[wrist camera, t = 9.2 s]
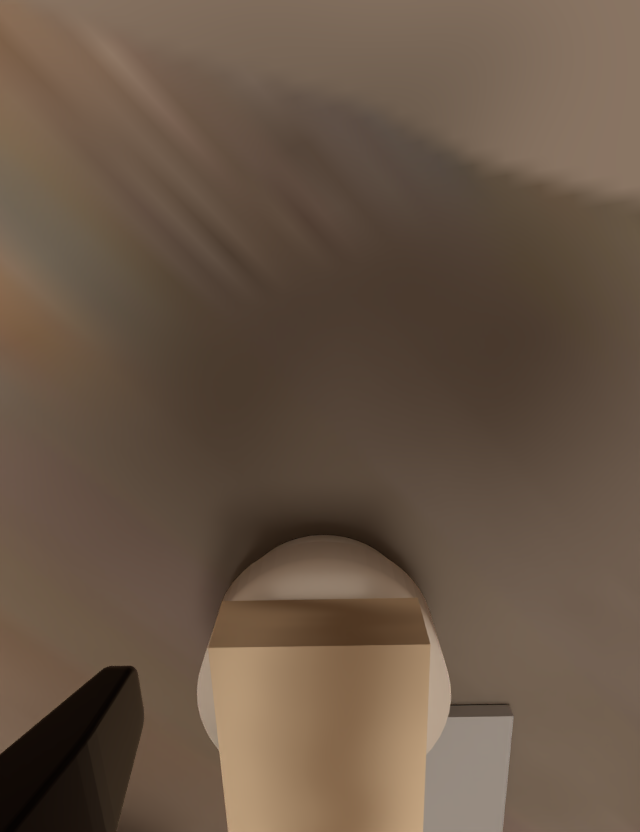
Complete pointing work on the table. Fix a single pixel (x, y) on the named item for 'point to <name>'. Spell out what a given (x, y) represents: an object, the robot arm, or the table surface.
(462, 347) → the table surface
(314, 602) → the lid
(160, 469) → the table surface
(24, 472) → the table surface
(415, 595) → the bowl
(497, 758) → the mat
